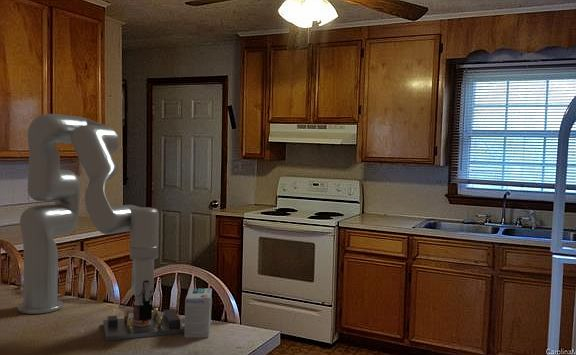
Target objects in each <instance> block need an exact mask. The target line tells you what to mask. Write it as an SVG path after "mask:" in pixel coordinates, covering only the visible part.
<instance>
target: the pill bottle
mask: <svg viewBox="0 0 576 355" xmlns="http://www.w3.org/2000/svg"><path fill="white" fill-rule="evenodd" d="M135 300H136V301H135ZM139 305H141V303H140V295H138V296H137V297H136V296H135V295H134V302H133V314H132V315H133V317H132V318H133V324H134V325H135V326H139V327H143V326H148V325H150V324H151V319H148V320H140V319H139Z"/></svg>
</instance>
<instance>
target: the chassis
mask: <svg viewBox="0 0 576 355" xmlns="http://www.w3.org/2000/svg"><path fill="white" fill-rule="evenodd" d="M152 309H153V310H152V313H153V314H152V318H151V324H150V325H148V326H143V327H139V326H135V325H134V324H133V317H130V314H129V313H130V312H129V310H128V309H126V310H124V312H123V313H124V315H123V317H124V318H118V316H117V315H108V316H107V319H104V320H103V321H102V324H103V331H104V336H105V340H106V342H109V341H121V340H128V339H139V338H149V337H161V336H169V335H180V334H184V329H185V327H184V326H183V325H182V323H181V319H180V317H179V316H178V314H177V312H176V311H175V309H164V310H163V311H162V314H161V315H159V312H158V311H159V308H157V307H154V308H152Z"/></svg>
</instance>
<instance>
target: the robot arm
mask: <svg viewBox="0 0 576 355" xmlns="http://www.w3.org/2000/svg"><path fill="white" fill-rule="evenodd" d="M55 144H69V145H71V144H72V147H73V149H74V151H75V154H76V155H77V158H78V159H79V162H80V165H81V166H82V169H83V171H84V173H85V176H86V178H87V184H86V187H85V193H84V204H85V205H84V206H85V208H86V211H87V213H88V215H89V218H90V220H91V222H92V224H93V225H94V227H95V229H96V230H97V231H98V232H100V233H101V234H102V235H114V234H120V233H126V232H127V233H128V232H129V259H130V260H132V271H131V273H132V274H131V291H132V294H133V295H134V297H135V296H136V297H137V296H138V295H140V303H141V305H139V319H140V320H148V319H151V318H152V316H153V314H152V313H153V310H152V309H153V304H152V296H153V295H154V286H155V260H156V259H159V235H160V234H159V231H160V229H159V228H160V227H159V226H160V222H159V221H160V214H159V212H160V211H159V210H158V209H157V208H154V207H150V206H149V207H147V206H146V207H141V206H138V205H134V204H123V205H122V204H121V205H110V202H109V200H108V198H107V194H106V191H105V188H106V187H105V186H106V183H107V182H108V181H110V180H111V179H112V178H114V177H115V176H116V174H117V172H118V168H117V165H116V163H115V161H114V159H113V157H112V154H115V152H116V151H118V149H119V147H120V146H119V145H120V138H119V135H118V133H117V131H116V130H115V129H114V128H112V127H110V126H108V125H106V124H103V123H101V122H97V121H95V120H92V119H90V118H87V117H83V116H77V115H66V114H60V113H59V114H58V113H45V114H41V115H38V116H36V117H35V118H33V120H32V121H31V122H30V124H29V126H28V128H27V145H28V153H29V154H28V155H29V156H28V157H29V158H28V173H27V174H28V175H27V192H28V196H29V198H30V199H31V200H33V201H36V202H37V201H38V202H49V201H54V204H41V205H35V206H30V207H28V208H27V209H25V210H24V211H23V212H22V213H21V215H20V219H19V224H20V225H19V226H20V232H21V236H22V243H23V281H22V282H23V291H22V292H23V295H22V300H23V302H21V303H19V304H18V305H17V311H18V312H19V313H22V314H27V315H28V314H29V315H30V314H32V315H34V314H37V315H38V314H46V313H51V312H55V311H58V310H61V309H62V308H63V307H64V306H63V305H64V302H63V301H62V300H59V299H58V294H59V293H58V290H59V289H58V285H59V284H58V283H59V280H58V278H59V277H58V276H59V273H58V272H59V260H58V259H59V253H58V252H59V251H58V246H57V244H56V242H55V240H54V239H53V237H52V236H57V235H62V234H68V233H70V232H73V231H74V230H75V229H76V228H77V225H78V223H79V219H80V218H79V217H80V202H81V201H80V200H81V183H80V179H79V178H78V176H77V174H76V173H74V172H73V171H72V170H69V169H61V168H60V167H61V166H60V163H61V157H60V156H61V155H60V153H59V150H58V148H57V146H56V145H55ZM134 301H136V300H135V299H134Z"/></svg>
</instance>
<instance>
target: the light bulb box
mask: <svg viewBox="0 0 576 355" xmlns="http://www.w3.org/2000/svg"><path fill="white" fill-rule="evenodd" d="M212 291H213V289H212V288H201V287H200V288H194V287H193V288H188V290H187V294H186V297H184V298H185V299H184V333H183V335H184V336H183V337H184V338H186V339H187V338H191V339H192V338H204V339H205V338H209V336H210V330H211V325H212V323H211V322H212V295H213V294H212V293H213V292H212Z"/></svg>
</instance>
